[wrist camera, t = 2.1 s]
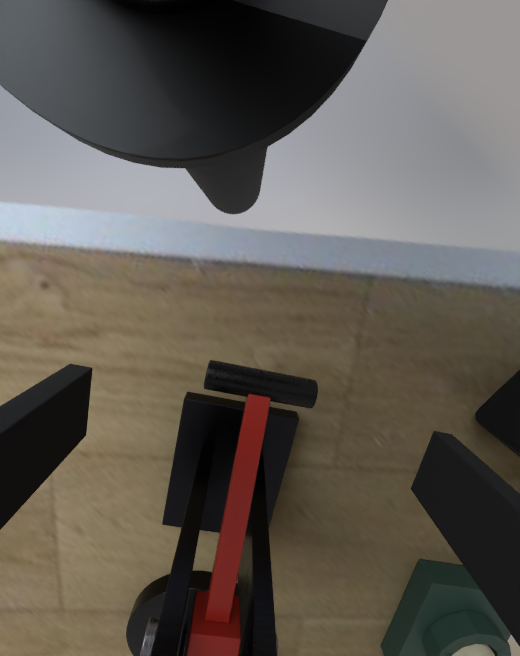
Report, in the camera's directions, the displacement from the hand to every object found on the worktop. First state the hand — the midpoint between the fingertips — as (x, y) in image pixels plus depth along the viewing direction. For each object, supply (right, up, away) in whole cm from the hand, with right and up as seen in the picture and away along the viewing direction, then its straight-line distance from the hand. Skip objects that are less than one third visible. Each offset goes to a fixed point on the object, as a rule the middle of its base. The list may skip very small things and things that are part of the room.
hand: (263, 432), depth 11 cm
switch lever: (-1, -5, +4) cm, 7 cm away
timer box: (+19, -25, +19) cm, 37 cm away
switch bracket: (-3, -8, +14) cm, 16 cm away
